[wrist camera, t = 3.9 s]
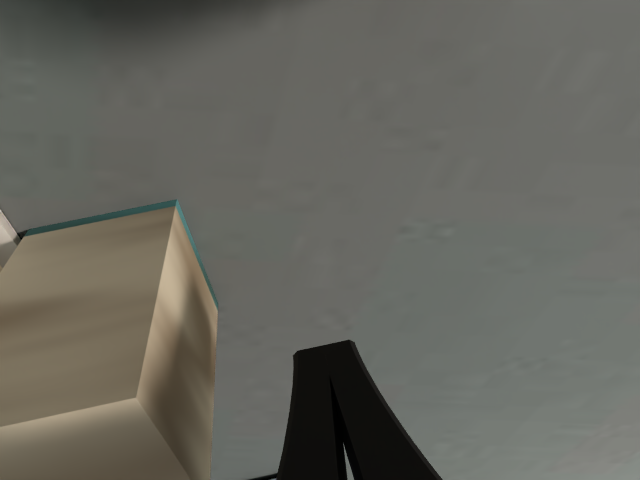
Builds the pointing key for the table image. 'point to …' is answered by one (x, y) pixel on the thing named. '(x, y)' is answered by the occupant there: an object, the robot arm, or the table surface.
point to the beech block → (107, 351)
